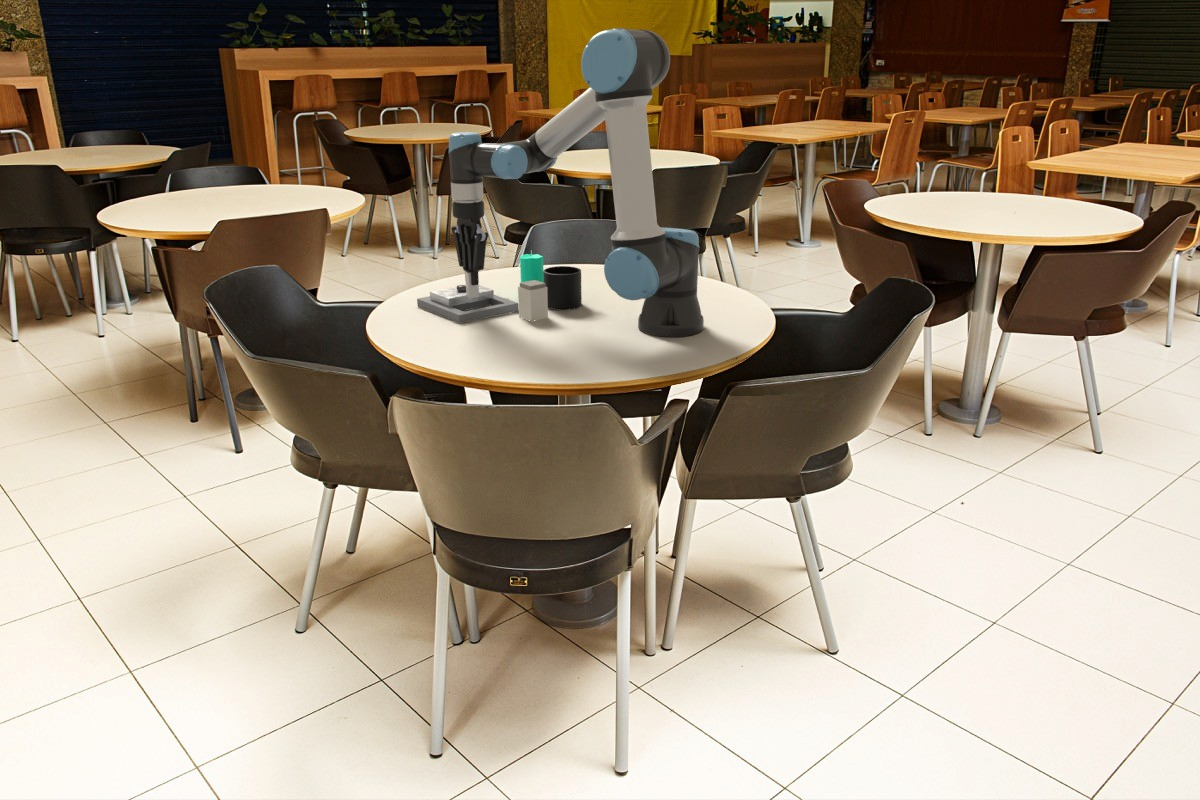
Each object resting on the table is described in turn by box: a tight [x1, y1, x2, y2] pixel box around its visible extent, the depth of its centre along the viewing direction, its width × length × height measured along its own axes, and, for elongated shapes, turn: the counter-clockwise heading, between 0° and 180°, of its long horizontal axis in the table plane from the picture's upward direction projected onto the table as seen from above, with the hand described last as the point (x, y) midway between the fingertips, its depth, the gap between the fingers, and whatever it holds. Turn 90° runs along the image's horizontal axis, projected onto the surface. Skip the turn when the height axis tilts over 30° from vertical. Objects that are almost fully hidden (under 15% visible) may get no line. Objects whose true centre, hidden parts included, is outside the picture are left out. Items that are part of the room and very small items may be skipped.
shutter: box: [429, 284, 495, 307], centre depth 232 cm, size 9×13×3 cm
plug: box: [517, 280, 549, 322], centre depth 223 cm, size 5×5×8 cm
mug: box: [543, 265, 583, 311], centre depth 234 cm, size 9×12×9 cm
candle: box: [519, 250, 544, 283], centre depth 241 cm, size 6×6×12 cm
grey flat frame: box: [416, 294, 519, 324], centre depth 231 cm, size 20×17×2 cm
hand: (472, 296), depth 228 cm, fingers closed
